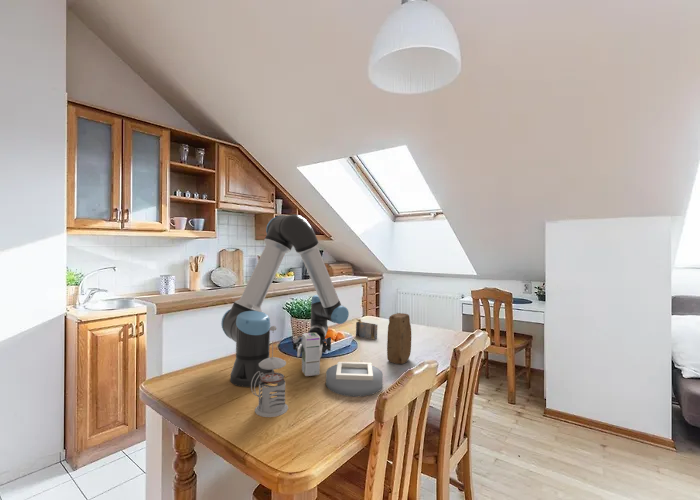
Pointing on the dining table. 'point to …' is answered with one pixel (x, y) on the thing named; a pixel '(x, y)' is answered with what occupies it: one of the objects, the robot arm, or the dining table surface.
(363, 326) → the ruin model on sheet
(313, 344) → the syrup box
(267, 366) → the french press
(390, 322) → the block
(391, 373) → the dining table surface
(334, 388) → the tower base
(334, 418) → the dining table surface
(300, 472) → the dining table surface
